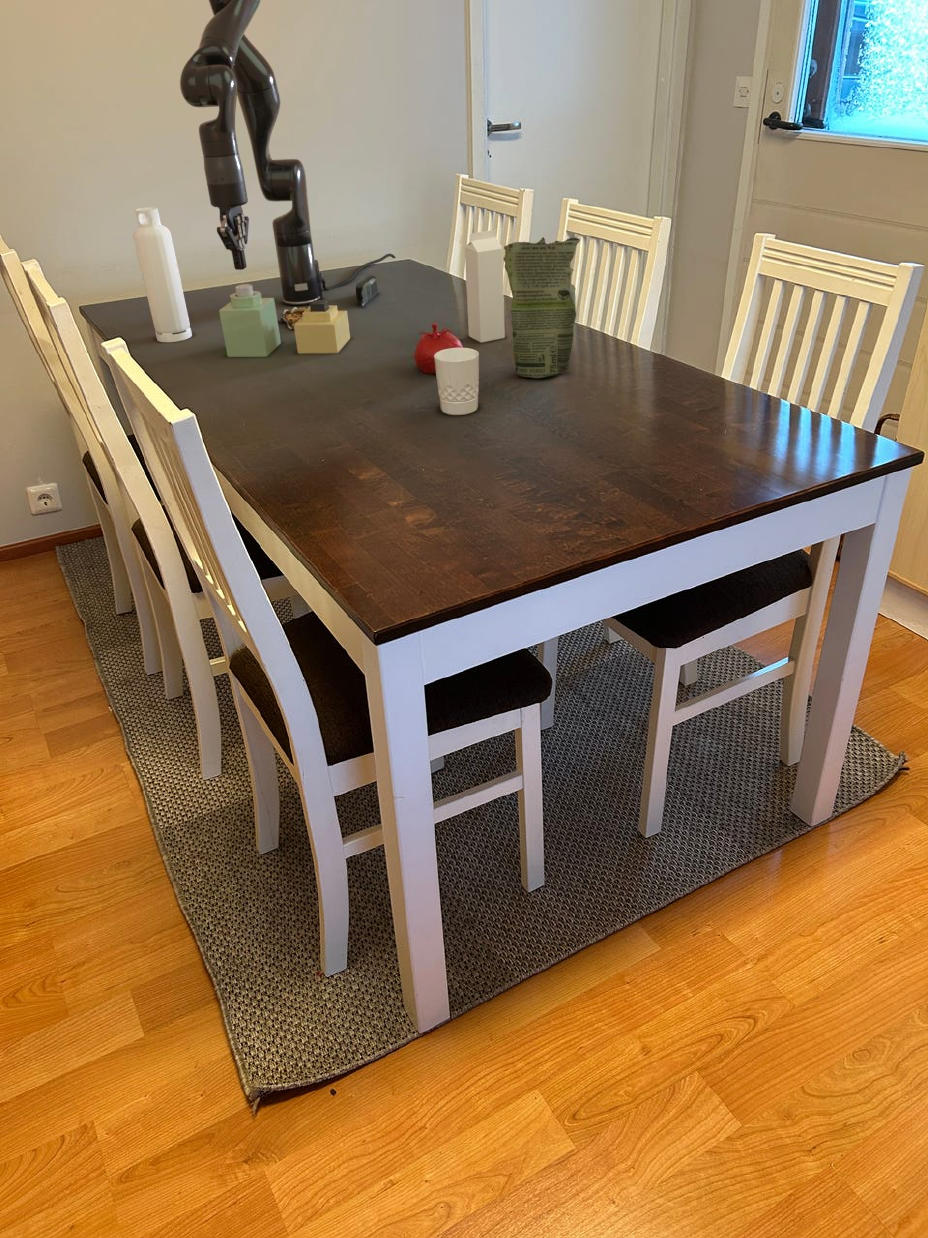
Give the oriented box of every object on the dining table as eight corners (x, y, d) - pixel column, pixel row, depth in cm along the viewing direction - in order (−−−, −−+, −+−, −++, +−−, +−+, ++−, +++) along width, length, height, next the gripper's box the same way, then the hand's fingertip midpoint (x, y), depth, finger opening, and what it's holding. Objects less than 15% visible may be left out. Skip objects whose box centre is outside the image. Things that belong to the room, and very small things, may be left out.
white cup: (449, 419, 165) (446, 364, 160) (430, 406, 171) (426, 352, 165) (488, 410, 168) (486, 355, 162) (468, 398, 174) (465, 344, 168)
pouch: (501, 374, 184) (497, 240, 171) (539, 358, 192) (538, 229, 178) (545, 384, 178) (545, 246, 164) (583, 368, 185) (585, 234, 171)
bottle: (196, 331, 222) (170, 204, 207) (185, 341, 215) (157, 211, 200) (164, 332, 223) (136, 206, 208) (151, 342, 216) (121, 212, 201)
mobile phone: (366, 274, 243) (351, 286, 230) (377, 273, 242) (363, 286, 230) (367, 293, 245) (354, 307, 233) (379, 293, 245) (365, 307, 232)
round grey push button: (240, 294, 202) (238, 284, 201) (256, 294, 202) (254, 283, 201) (234, 298, 199) (232, 288, 198) (250, 298, 199) (248, 287, 198)
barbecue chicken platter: (294, 332, 217) (292, 316, 215) (277, 321, 226) (275, 306, 224) (322, 327, 220) (320, 311, 218) (304, 316, 229) (302, 301, 227)
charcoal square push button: (314, 309, 204) (313, 299, 203) (329, 308, 204) (327, 299, 203) (310, 313, 202) (309, 303, 201) (325, 312, 201) (323, 303, 200)
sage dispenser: (243, 343, 212) (233, 288, 205) (281, 343, 210) (272, 288, 204) (227, 356, 204) (216, 300, 197) (266, 356, 202) (257, 300, 196)
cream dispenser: (312, 338, 212) (307, 302, 208) (350, 338, 211) (346, 302, 206) (297, 353, 203) (292, 316, 199) (337, 353, 202) (333, 315, 197)
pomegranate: (473, 367, 189) (471, 320, 184) (439, 380, 183) (436, 332, 178) (439, 358, 195) (436, 313, 190) (404, 371, 189) (400, 325, 184)
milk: (468, 336, 207) (463, 231, 196) (492, 331, 210) (488, 227, 198) (481, 343, 203) (476, 235, 191) (505, 338, 205) (502, 231, 193)
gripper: (231, 184, 182) (247, 275, 192) (253, 173, 193) (267, 261, 202) (195, 185, 183) (212, 276, 193) (219, 174, 194) (235, 261, 204)
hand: (240, 268), depth 198 cm, fingers closed
